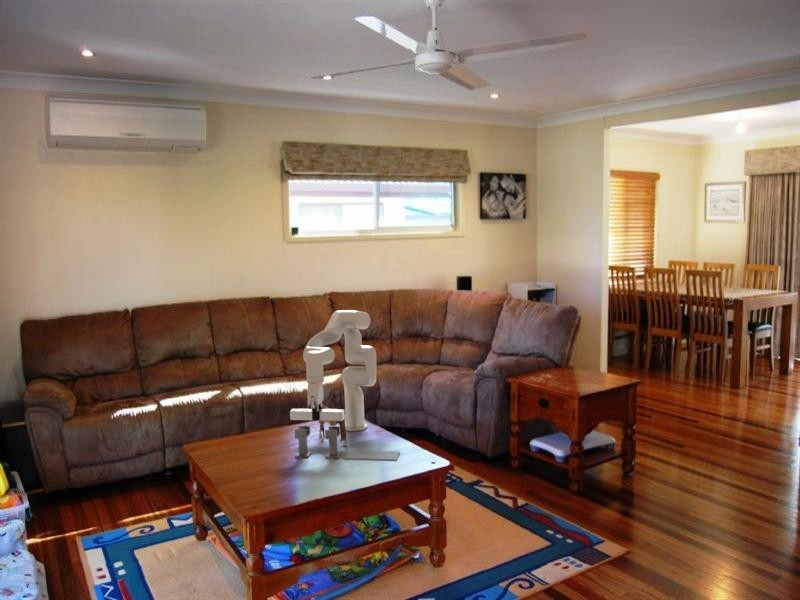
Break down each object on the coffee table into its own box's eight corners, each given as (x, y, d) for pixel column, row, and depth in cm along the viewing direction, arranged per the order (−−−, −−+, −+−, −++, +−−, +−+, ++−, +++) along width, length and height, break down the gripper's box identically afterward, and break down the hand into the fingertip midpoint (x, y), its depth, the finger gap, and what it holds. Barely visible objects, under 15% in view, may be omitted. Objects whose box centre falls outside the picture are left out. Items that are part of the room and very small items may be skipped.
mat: (348, 451, 307) (348, 450, 307) (400, 452, 303) (400, 451, 303) (342, 459, 297) (342, 457, 297) (396, 460, 293) (396, 459, 293)
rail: (293, 417, 305) (292, 408, 304) (344, 418, 301) (344, 409, 300) (290, 419, 301) (289, 411, 300) (342, 420, 297) (342, 412, 296)
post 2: (329, 453, 305) (328, 425, 303) (342, 454, 304) (341, 426, 302) (325, 458, 298) (323, 430, 296) (338, 459, 297) (337, 430, 295)
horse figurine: (306, 437, 329) (304, 396, 327) (319, 434, 334) (318, 393, 332) (342, 453, 305) (340, 408, 303) (356, 449, 310) (354, 405, 308)
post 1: (299, 452, 307) (298, 425, 306) (312, 453, 306) (311, 425, 305) (294, 458, 300) (293, 429, 299) (307, 458, 299) (306, 430, 298)
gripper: (312, 373, 307) (314, 412, 309) (301, 383, 291) (303, 424, 293) (328, 373, 306) (330, 412, 308) (318, 383, 289) (320, 424, 292)
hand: (317, 417), depth 301 cm, fingers closed on rail, 4 cm apart
